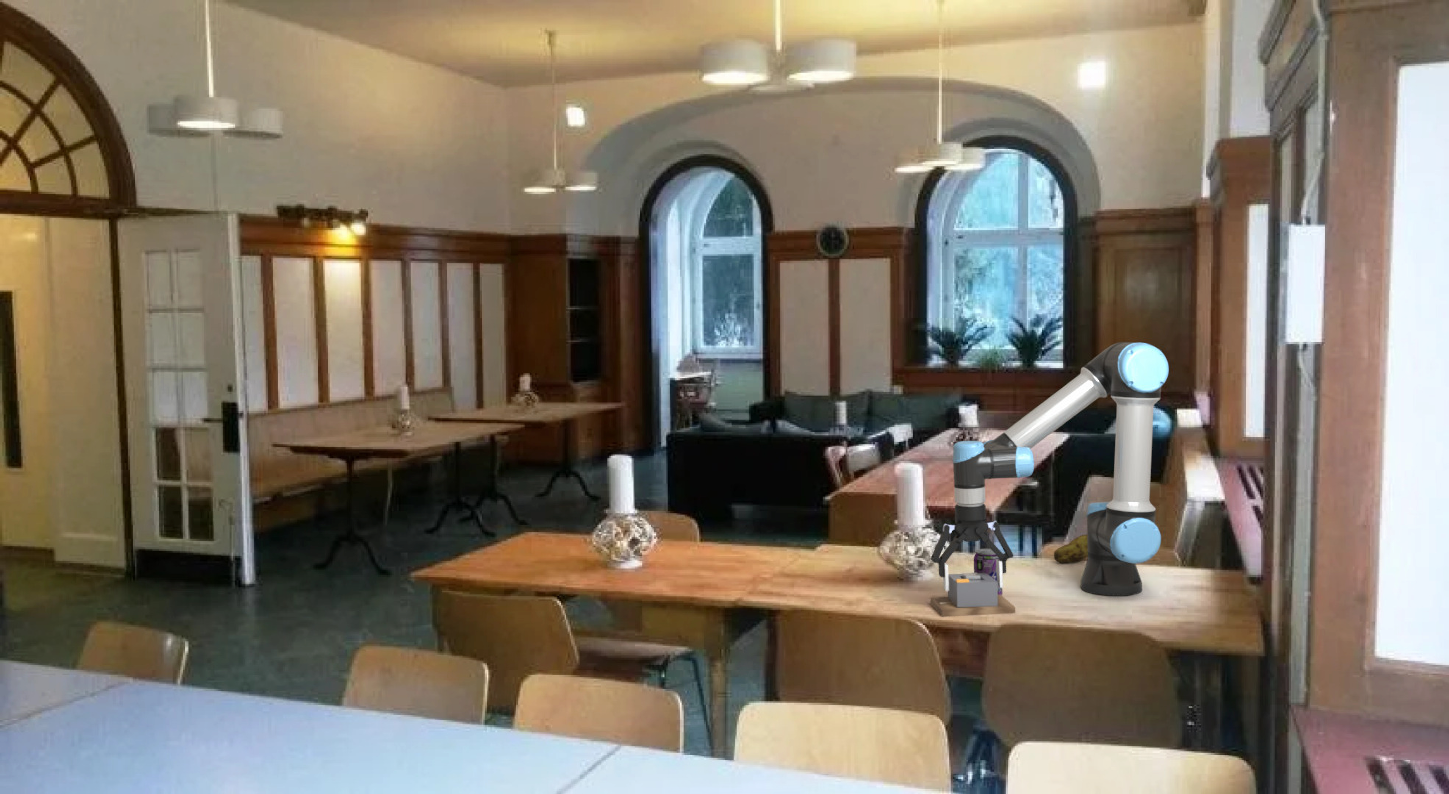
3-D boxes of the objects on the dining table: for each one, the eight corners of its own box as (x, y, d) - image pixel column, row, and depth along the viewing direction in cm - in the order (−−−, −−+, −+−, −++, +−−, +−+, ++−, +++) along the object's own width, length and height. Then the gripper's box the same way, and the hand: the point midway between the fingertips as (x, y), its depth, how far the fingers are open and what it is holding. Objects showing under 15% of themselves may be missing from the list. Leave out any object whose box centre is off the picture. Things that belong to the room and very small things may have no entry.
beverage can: (982, 601, 304) (981, 554, 303) (969, 595, 311) (968, 549, 310) (1007, 598, 306) (1006, 552, 305) (994, 592, 313) (993, 547, 312)
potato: (1052, 559, 350) (1051, 532, 349) (1098, 559, 347) (1097, 532, 347) (1054, 565, 342) (1054, 538, 341) (1101, 565, 339) (1101, 538, 339)
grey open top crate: (986, 596, 303) (986, 570, 303) (997, 606, 293) (997, 579, 293) (947, 597, 303) (947, 571, 302) (957, 607, 293) (957, 580, 292)
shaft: (977, 600, 300) (976, 572, 299) (980, 603, 296) (980, 575, 296) (962, 600, 300) (962, 573, 299) (966, 604, 296) (966, 576, 295)
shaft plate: (1000, 600, 305) (1000, 593, 305) (1015, 612, 292) (1015, 606, 292) (930, 603, 304) (930, 597, 304) (942, 616, 291) (942, 609, 291)
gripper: (1015, 498, 300) (1017, 581, 302) (917, 504, 299) (920, 587, 301) (1024, 503, 293) (1027, 588, 294) (923, 509, 292) (926, 594, 293)
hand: (973, 588), depth 298 cm, fingers open, 13 cm apart
